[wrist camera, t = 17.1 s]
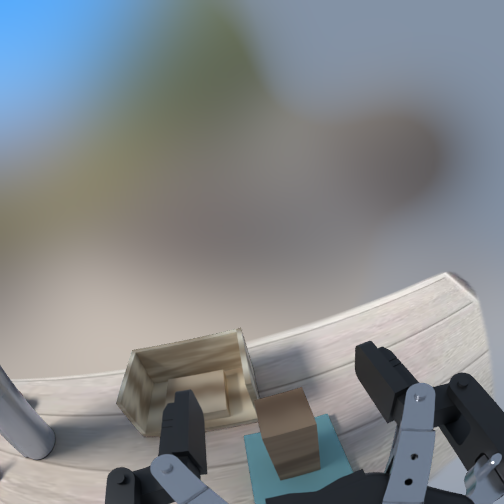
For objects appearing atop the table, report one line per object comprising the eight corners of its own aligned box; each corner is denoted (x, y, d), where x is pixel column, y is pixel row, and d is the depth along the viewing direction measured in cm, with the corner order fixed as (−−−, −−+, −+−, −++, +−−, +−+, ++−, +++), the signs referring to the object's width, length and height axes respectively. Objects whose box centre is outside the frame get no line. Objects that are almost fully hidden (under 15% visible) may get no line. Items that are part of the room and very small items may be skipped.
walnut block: (320, 469, 25) (316, 423, 21) (280, 480, 25) (261, 438, 20) (309, 440, 30) (301, 386, 25) (272, 450, 29) (253, 400, 25)
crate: (264, 420, 36) (251, 383, 32) (144, 437, 34) (116, 403, 31) (252, 365, 47) (240, 327, 44) (152, 384, 46) (132, 350, 43)
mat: (356, 483, 22) (356, 480, 22) (257, 510, 22) (256, 508, 21) (327, 417, 33) (327, 413, 33) (245, 438, 33) (243, 435, 32)
